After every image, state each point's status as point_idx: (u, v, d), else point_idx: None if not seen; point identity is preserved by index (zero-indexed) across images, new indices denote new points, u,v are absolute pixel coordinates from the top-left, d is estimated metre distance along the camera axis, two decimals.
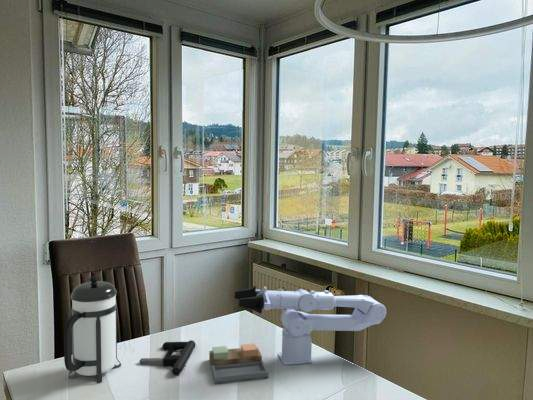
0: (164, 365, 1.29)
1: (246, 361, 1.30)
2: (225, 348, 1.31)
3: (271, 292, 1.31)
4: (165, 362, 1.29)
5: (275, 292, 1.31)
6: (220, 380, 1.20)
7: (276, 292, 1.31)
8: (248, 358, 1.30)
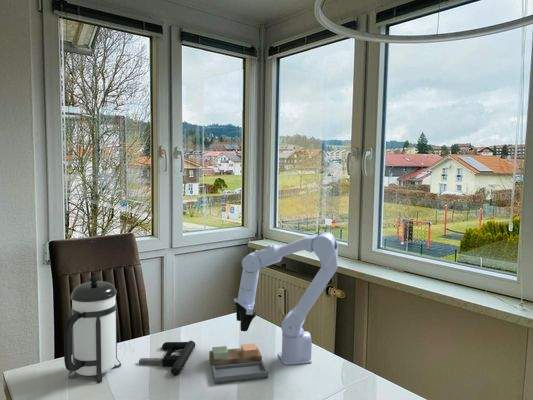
0: (163, 365, 1.29)
1: (246, 361, 1.30)
2: (225, 348, 1.31)
3: (239, 296, 1.37)
4: (164, 362, 1.29)
5: (240, 292, 1.37)
6: (220, 380, 1.20)
7: (240, 291, 1.37)
8: (248, 358, 1.30)
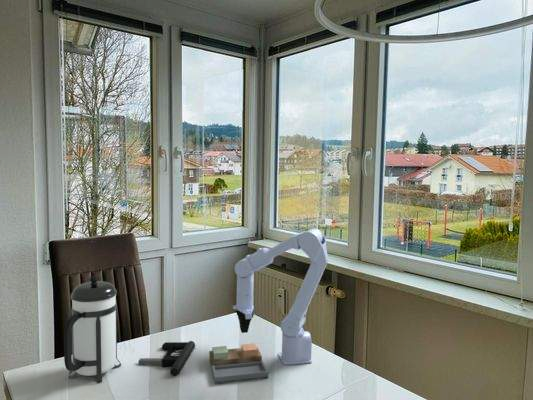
0: (163, 365, 1.29)
1: (246, 361, 1.30)
2: (225, 348, 1.31)
3: (237, 302, 1.38)
4: (164, 362, 1.29)
5: (237, 298, 1.38)
6: (220, 380, 1.20)
7: (237, 297, 1.38)
8: (248, 358, 1.30)
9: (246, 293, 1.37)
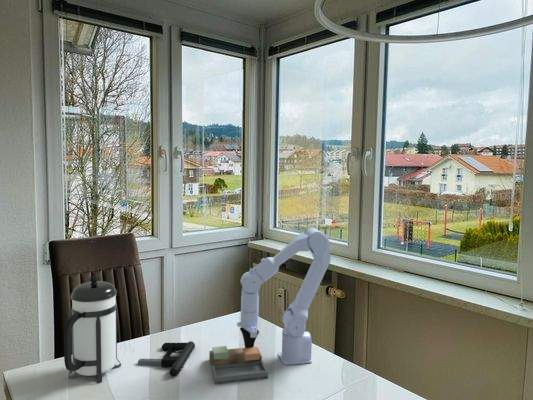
0: (162, 366, 1.28)
1: (246, 361, 1.30)
2: (225, 348, 1.31)
3: (242, 319, 1.31)
4: (163, 363, 1.28)
5: (242, 315, 1.31)
6: (220, 380, 1.20)
7: (242, 314, 1.31)
8: None
9: (255, 309, 1.30)
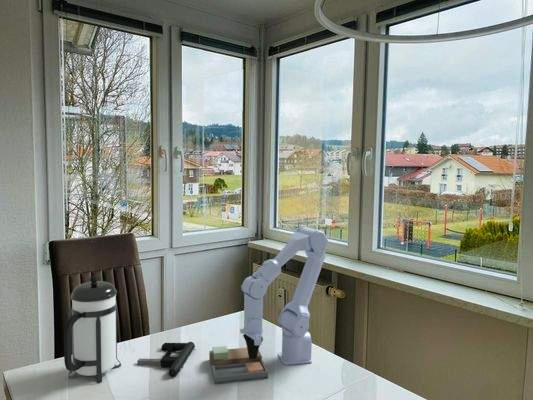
0: (161, 366, 1.28)
1: (246, 361, 1.30)
2: (225, 348, 1.31)
3: (245, 326, 1.26)
4: (162, 363, 1.28)
5: (245, 321, 1.25)
6: (220, 380, 1.20)
7: (245, 320, 1.25)
8: (248, 358, 1.30)
9: (261, 314, 1.25)
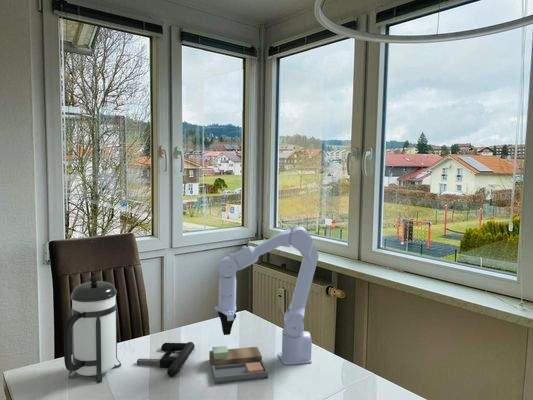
0: (161, 366, 1.28)
1: (246, 361, 1.30)
2: (225, 348, 1.31)
3: (219, 303, 1.33)
4: (162, 363, 1.28)
5: (219, 299, 1.32)
6: (220, 380, 1.20)
7: (219, 298, 1.32)
8: (248, 358, 1.30)
9: (231, 293, 1.32)
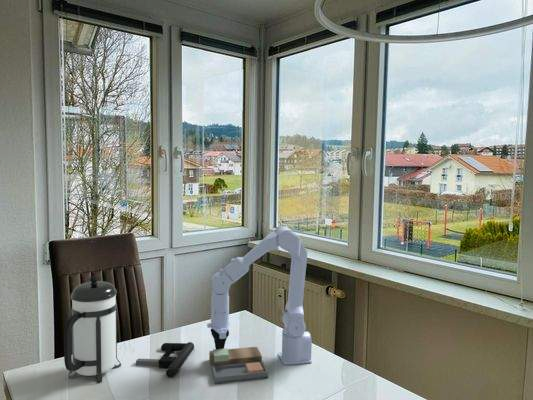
0: (160, 366, 1.28)
1: (246, 361, 1.30)
2: (226, 350, 1.30)
3: (212, 320, 1.29)
4: (161, 363, 1.28)
5: (212, 316, 1.29)
6: (220, 380, 1.20)
7: (212, 315, 1.29)
8: (248, 358, 1.30)
9: (224, 310, 1.29)
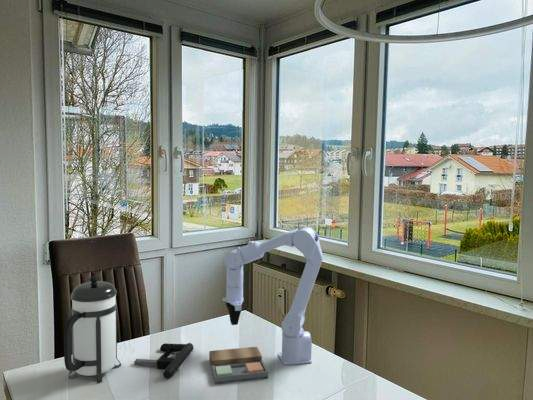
0: (158, 367, 1.27)
1: (246, 361, 1.30)
2: None
3: (227, 294, 1.38)
4: (159, 364, 1.27)
5: (227, 290, 1.38)
6: (220, 380, 1.20)
7: (227, 289, 1.38)
8: (248, 358, 1.30)
9: (236, 285, 1.36)
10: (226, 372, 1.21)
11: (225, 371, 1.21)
